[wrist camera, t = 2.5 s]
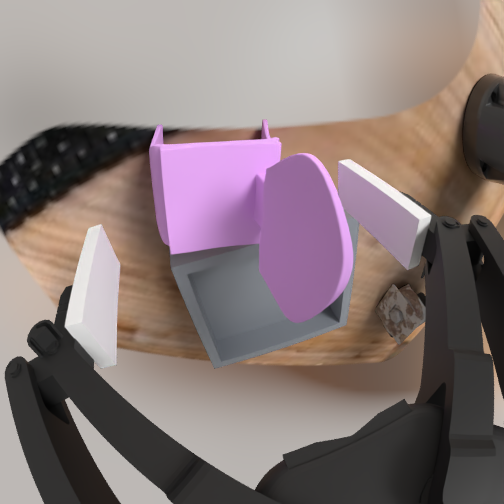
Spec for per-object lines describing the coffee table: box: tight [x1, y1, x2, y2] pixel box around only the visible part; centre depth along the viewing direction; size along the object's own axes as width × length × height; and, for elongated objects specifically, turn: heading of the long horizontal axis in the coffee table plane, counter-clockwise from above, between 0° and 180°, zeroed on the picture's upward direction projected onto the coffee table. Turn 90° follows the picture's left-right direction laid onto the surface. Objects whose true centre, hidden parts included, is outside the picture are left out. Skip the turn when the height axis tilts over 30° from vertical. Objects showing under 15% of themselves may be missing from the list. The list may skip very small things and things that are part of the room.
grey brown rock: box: [375, 284, 426, 344], centre depth 40 cm, size 7×11×10 cm
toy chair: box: [149, 120, 353, 323], centre depth 16 cm, size 8×9×15 cm
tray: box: [169, 208, 359, 369], centre depth 29 cm, size 16×15×4 cm
